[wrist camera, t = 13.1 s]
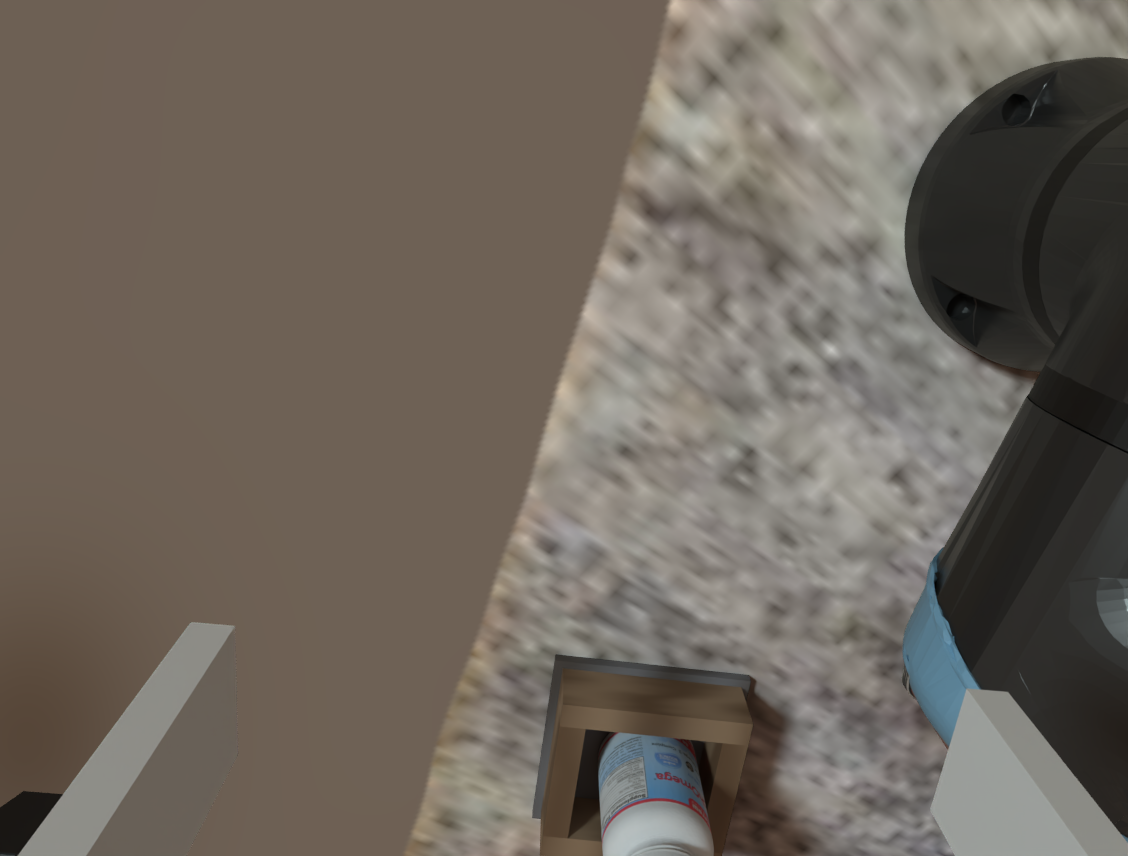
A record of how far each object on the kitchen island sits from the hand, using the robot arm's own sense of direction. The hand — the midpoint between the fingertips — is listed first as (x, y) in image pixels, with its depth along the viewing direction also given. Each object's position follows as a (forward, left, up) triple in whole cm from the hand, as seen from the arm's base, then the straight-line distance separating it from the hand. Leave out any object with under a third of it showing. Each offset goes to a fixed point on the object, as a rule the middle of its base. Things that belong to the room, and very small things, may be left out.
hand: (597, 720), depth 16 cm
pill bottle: (-8, +26, -32) cm, 42 cm away
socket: (-8, +26, -33) cm, 43 cm away
